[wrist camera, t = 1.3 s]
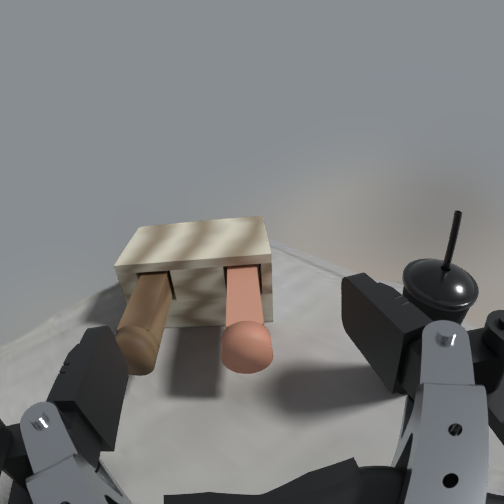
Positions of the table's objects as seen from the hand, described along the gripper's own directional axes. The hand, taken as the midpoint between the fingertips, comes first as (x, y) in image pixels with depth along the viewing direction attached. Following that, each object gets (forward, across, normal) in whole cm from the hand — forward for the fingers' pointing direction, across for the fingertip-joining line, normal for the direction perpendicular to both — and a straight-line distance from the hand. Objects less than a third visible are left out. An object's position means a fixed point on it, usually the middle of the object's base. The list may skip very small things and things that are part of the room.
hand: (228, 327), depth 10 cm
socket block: (+32, +4, +16) cm, 36 cm away
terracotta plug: (+21, -2, +13) cm, 25 cm away
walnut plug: (+22, +9, +12) cm, 27 cm away
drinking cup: (+11, -17, +21) cm, 29 cm away
